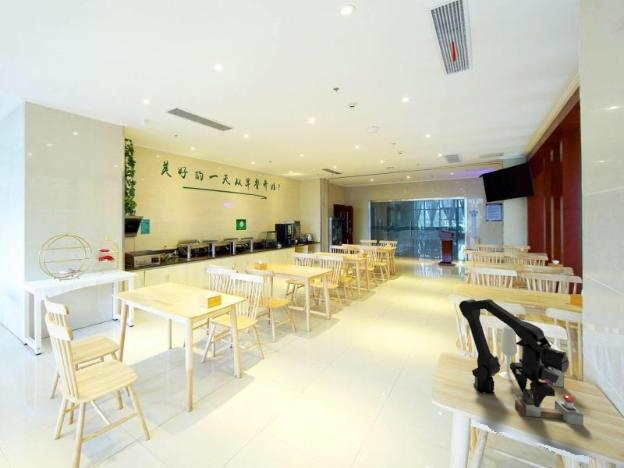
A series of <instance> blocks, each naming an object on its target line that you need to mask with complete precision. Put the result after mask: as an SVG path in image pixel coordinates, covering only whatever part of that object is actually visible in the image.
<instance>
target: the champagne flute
mask: <svg viewBox="0 0 624 468" xmlns="http://www.w3.org/2000/svg"><path fill="white" fill-rule="evenodd" d="M501 331H502V332H501V338H500V345H499V350H500V351H501V353H503V354H504V356H506V364H505V365H506V367H505V371H504V372H500V373H499V372H498V374H499V377H501V378H502V379H505V380H508V381H509V380H510V381H516V379H515V377H514V375H513V373H510V364H511V362H510V361H511V360H510V358H511V357H513V356H515V355H516V354H517V353H518V347H517V346H518V345H517V344H516V343H517V335H516V333H515V332H514V330H513V329H512V328H511V327H509V326H508V325H507V324H505V325H503V326H502V330H501Z"/></svg>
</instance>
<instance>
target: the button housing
mask: <svg viewBox="0 0 624 468" xmlns="http://www.w3.org/2000/svg"><path fill="white" fill-rule="evenodd" d="M554 409H558V410H560V411H561V412H562V413H563V419H562V420H563V421H564V422H565V423H566V424H569V425H579V426H584V416H585V415H584V414H583V412H581V411H580V410H579V409H578V408H576V407H575V406H573V411H572V410H566V409H565V408H564V401H560V400H554Z"/></svg>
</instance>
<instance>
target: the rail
mask: <svg viewBox="0 0 624 468" xmlns="http://www.w3.org/2000/svg"><path fill="white" fill-rule="evenodd" d="M514 409H515V410H516V412H518V414H519V415H520V416H521V417H525V416H526V415H525V407H524V405H523V404H522V403H521V402H520V401H519V399H515V400H514ZM541 417H542V418H550V419H562V420H563V413H562V412H561V411H560V410H558V409H555V408H546V407H541Z"/></svg>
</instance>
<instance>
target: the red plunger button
mask: <svg viewBox="0 0 624 468" xmlns="http://www.w3.org/2000/svg"><path fill="white" fill-rule="evenodd" d="M562 400H563V402H564V408H565V409H566V410H572V411H573V406H574V404H575V403H576V402H577V401H576V400H577V399H576V397H574V396H573V395H570V394H566V393H563V394H562ZM574 407H575V406H574Z"/></svg>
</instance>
